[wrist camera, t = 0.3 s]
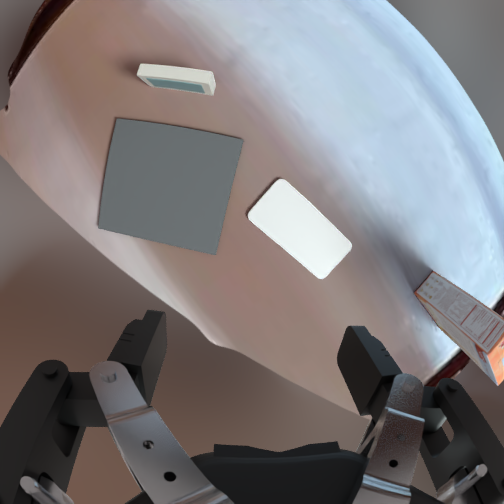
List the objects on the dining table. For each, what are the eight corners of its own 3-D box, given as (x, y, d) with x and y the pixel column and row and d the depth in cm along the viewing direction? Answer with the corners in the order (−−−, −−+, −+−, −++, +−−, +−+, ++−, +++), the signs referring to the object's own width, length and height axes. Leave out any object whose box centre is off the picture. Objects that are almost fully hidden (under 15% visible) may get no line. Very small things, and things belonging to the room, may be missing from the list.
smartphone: (321, 281, 41) (244, 216, 37) (320, 279, 42) (244, 215, 38) (354, 245, 40) (281, 175, 36) (352, 244, 40) (280, 175, 37)
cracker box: (457, 307, 46) (519, 361, 26) (438, 328, 47) (496, 388, 27) (433, 267, 42) (513, 323, 22) (412, 292, 43) (486, 358, 24)
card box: (153, 76, 31) (140, 63, 25) (216, 85, 32) (212, 71, 26) (150, 87, 32) (136, 75, 26) (212, 96, 33) (208, 84, 27)
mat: (118, 119, 32) (116, 118, 32) (243, 140, 35) (243, 139, 34) (100, 227, 37) (98, 228, 36) (216, 253, 39) (215, 255, 39)
